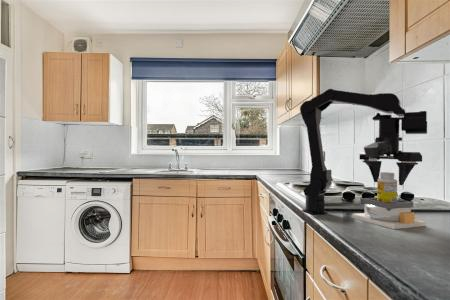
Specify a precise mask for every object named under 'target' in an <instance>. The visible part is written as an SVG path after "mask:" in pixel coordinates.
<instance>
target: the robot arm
mask: <svg viewBox="0 0 450 300" xmlns="http://www.w3.org/2000/svg"><path fill="white" fill-rule="evenodd" d="M334 102H336V103H342V104H348V105H354V106H359V107H360V106H361V107H366V108H371V109H374V110H376V111H378V112H377V113H376V114H375V116H373V117H372V120H373V121H378V136H377V137H375V139H374V142H371V143H370V144H368V145H365V146H363V149H364V150H362V151H360V153H359V157H358V158H359V160H362V163H364V164H365V165H367V166H368V169H369V171H370V173H371V177H372V179H373V182H374V183H377V181H378V179H379V178H380V173H381V166H382V163H383V162H382V160H397V161H396V162H395V163H396V166H397V167H398V185H399V186H403V185H404V184H405V182H406V180H407V178H408V177H409V175H410V173H411V171H412V170H413V169H414V167H415V166H416V165H418V164H419V163H422V162H423V154H422V153H421V152H419V151H417V152H416V151H403V150H400V142H402V141H403V137H400V130H401V131H402V132H405V135H425V134H428V121H427V120H428V119H427V118H428V117H427V116H428V115H427V113H428V112H427V110H420V111H408V112H406V109H405V108H402V106H401V100H400V99H399V98H398V96H397V95H396V94H394V93H389V92H388V93H387V92H386V93H385V92H384V93H373V94H367V93H361V92H360V93H359V92H352V91H351V92H350V91H345V90H339V89H337V90H336V89H333V88H329V89H326V90H325V91H324V92H322V93H320V94H319V95H316V96H314V97H312V98H311V99H309V100H306V101H305V100H304V101H303V102H302V104H301V105H300V107H299V112H300V115H301V118H302V120H303V123H304V124H305V127H306V132H307V138H308V146H309V153H310V162H311V171H310V175H309V176H310V177H309V183H308V185H306V186H305V188H303V190H302V192H303V194H304V196H305V208H303V209H301V211H303V212H306V213H307V214H311V215H319V214H328V211H327V210H325V205H326V204H325V195H326V192H327V191H328V190H329V189H330V187H332V182H333V181H334V179H333V177H332V173H333V172H332V169H327V166H326V164H325V156H324V151H323V150H324V149H323V143H322V142H323V141H322V135H321V127H320V126H321V121H322V112H323V111H325V110H326V109H328V107H330V106H331V104H333V103H334ZM380 112H382V113H385V114H381V113H380ZM392 114H394V115H395V116H397V117H395V116H394V117H392ZM400 121H401V122H400ZM400 123H401V129H400Z"/></svg>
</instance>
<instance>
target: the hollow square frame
mask: <svg viewBox="0 0 450 300" xmlns="http://www.w3.org/2000/svg"><path fill="white" fill-rule="evenodd" d="M361 201H362V204H364V212H363V213H364V216H365V217H367V218H370V219H373V220H378V221H385V222H400V223H404V224H407V223H414V219H415V212H414V211H413V212H412V208H414V202H413V201H409V200H404V199H403V200H402V199H398V198H397V203H385V202H380V201H377V197H367V198H365V197H364V198H362V199H361Z"/></svg>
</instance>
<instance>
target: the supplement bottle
mask: <svg viewBox="0 0 450 300" xmlns="http://www.w3.org/2000/svg"><path fill="white" fill-rule="evenodd" d="M376 183H377V185H376V186H377V187H376V189H377V191H376V193H377V195H376V198H377V201H380V202H385V203H397V199H398V180H397V179H395V172H386V171H385V172H384V171H383V172H381V171H380V174H379V179H378V181H377V182H376Z"/></svg>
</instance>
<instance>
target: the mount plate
mask: <svg viewBox="0 0 450 300" xmlns="http://www.w3.org/2000/svg"><path fill="white" fill-rule="evenodd" d="M351 218H353V219H357V220H360V221H363V222H366V223H371V224H374V225H377V226H380V227H381V226H382V227H385V228H388V229H392V230H398V229H399V230H400V229H407V228H408V229H409V228H418V227H425V226H426V222H425V221H423V220H419V219H415V218H414V223H407V224H404V223H400V222H385V221H378V220H373V219H370V218H367V217H365V216H364V212H362V213H361V212H360V213H359V212H358V213H352V214H351Z"/></svg>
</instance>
